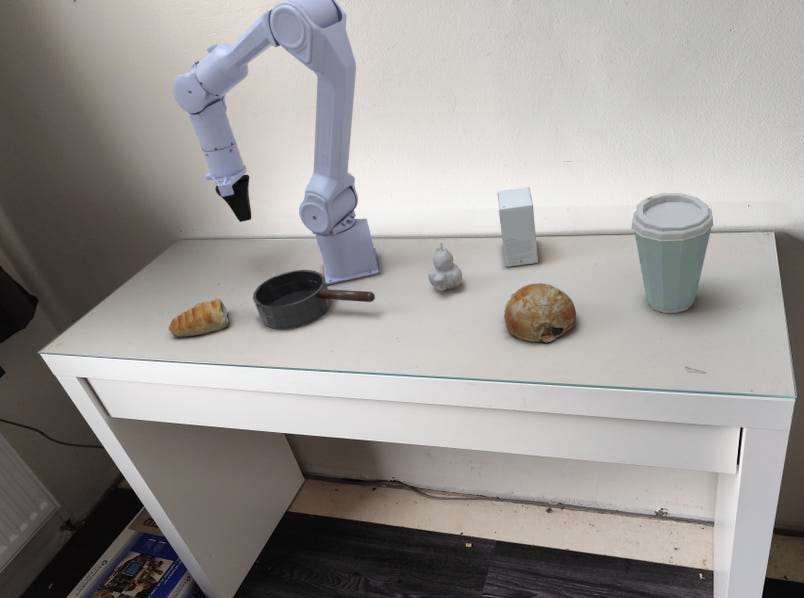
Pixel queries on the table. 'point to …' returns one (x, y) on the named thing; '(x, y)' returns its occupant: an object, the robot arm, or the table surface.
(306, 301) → the pan
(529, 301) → the bread roll
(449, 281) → the grey figurine
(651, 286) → the disposable coffee cup
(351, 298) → the pan handle
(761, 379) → the table surface
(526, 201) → the small box
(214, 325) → the pastry
